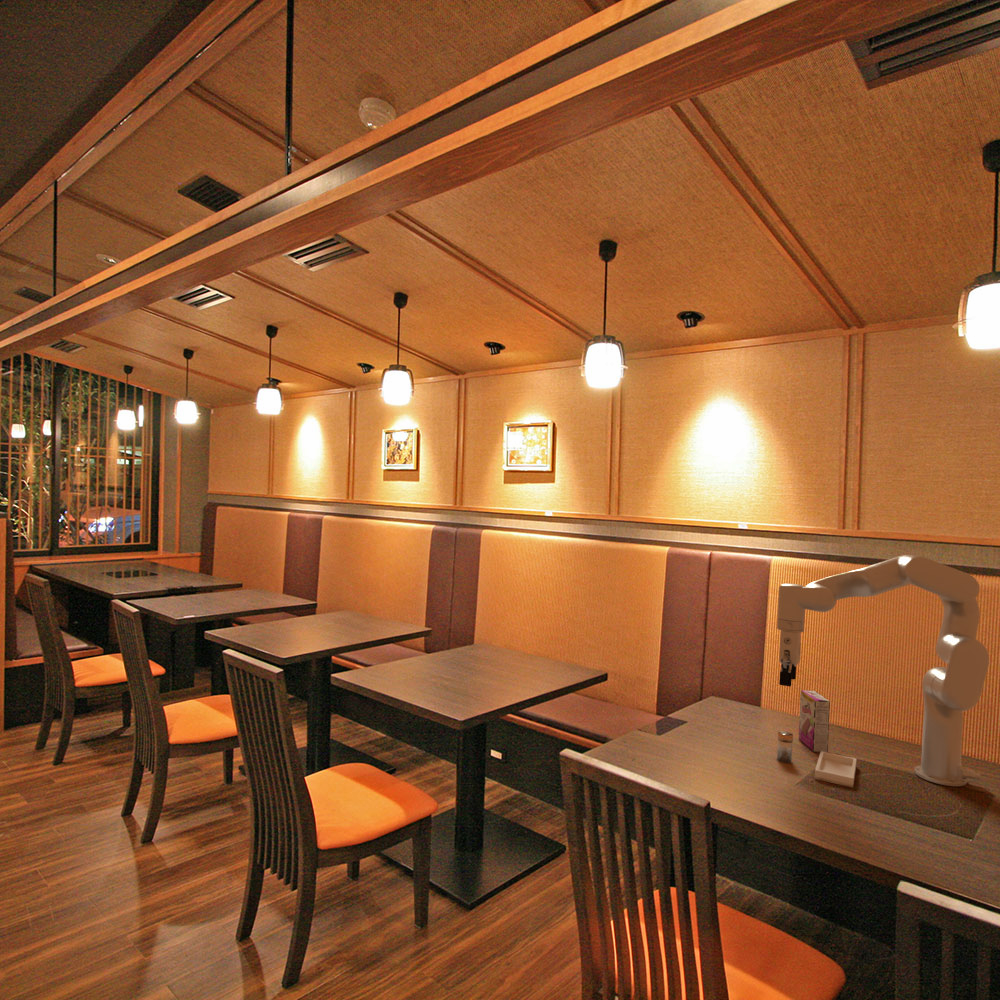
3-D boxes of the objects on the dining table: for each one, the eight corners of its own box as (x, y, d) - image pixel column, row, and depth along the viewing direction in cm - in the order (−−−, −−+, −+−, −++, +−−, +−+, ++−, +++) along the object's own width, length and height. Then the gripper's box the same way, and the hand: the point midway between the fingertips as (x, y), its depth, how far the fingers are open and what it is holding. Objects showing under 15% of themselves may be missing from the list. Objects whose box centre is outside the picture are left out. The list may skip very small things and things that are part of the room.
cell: (792, 759, 204) (793, 733, 204) (790, 764, 200) (792, 737, 200) (777, 756, 206) (779, 730, 206) (775, 760, 202) (777, 734, 202)
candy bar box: (797, 739, 222) (799, 689, 222) (812, 740, 222) (815, 690, 222) (812, 752, 211) (815, 699, 211) (828, 753, 211) (831, 700, 211)
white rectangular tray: (856, 766, 200) (856, 758, 200) (853, 787, 185) (853, 778, 185) (820, 759, 205) (820, 751, 205) (814, 778, 190) (815, 769, 190)
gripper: (800, 631, 194) (797, 690, 194) (807, 623, 209) (804, 678, 209) (772, 627, 198) (769, 686, 198) (781, 619, 213) (778, 674, 213)
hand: (787, 682), depth 203 cm, fingers open, 9 cm apart
